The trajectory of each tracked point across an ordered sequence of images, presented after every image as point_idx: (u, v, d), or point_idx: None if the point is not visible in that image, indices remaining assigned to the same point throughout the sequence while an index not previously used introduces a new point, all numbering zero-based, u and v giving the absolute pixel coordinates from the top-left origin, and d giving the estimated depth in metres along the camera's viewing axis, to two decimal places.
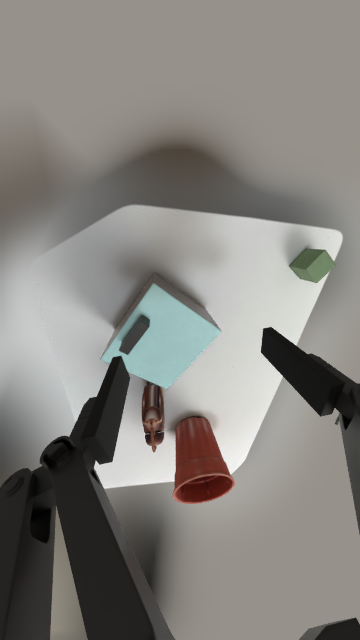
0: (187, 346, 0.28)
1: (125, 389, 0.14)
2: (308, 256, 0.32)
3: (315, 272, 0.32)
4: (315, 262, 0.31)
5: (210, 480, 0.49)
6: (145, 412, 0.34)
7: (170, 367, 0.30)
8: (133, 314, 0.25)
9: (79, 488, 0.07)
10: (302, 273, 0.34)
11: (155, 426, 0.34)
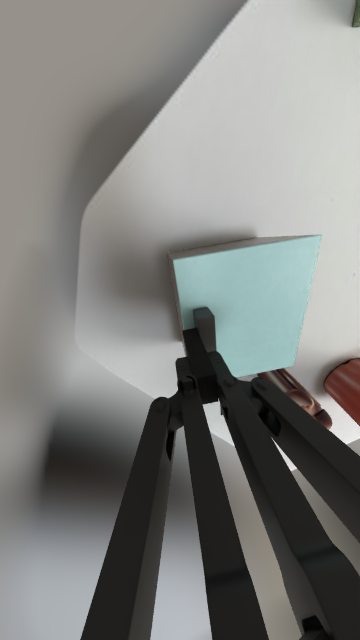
0: (282, 298, 0.17)
1: None
2: None
3: None
4: None
5: None
6: None
7: (278, 340, 0.20)
8: (184, 317, 0.17)
9: (197, 417, 0.08)
10: None
11: (312, 413, 0.24)
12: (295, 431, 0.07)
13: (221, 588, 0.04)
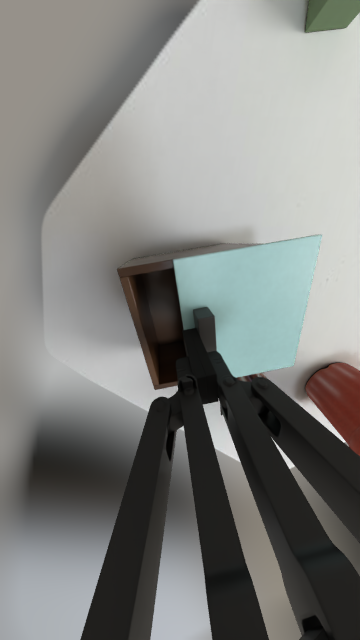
0: (282, 298, 0.17)
1: None
2: None
3: None
4: None
5: None
6: None
7: (278, 340, 0.20)
8: (184, 317, 0.17)
9: (197, 417, 0.08)
10: None
11: None
12: (295, 431, 0.07)
13: (221, 587, 0.04)
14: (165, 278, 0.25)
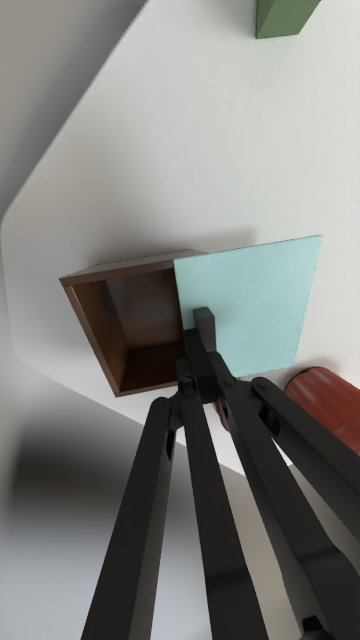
0: (282, 299, 0.17)
1: None
2: None
3: None
4: None
5: None
6: (220, 417, 0.25)
7: (278, 340, 0.20)
8: (184, 317, 0.17)
9: (197, 417, 0.08)
10: (292, 5, 0.14)
11: None
12: (295, 431, 0.07)
13: (221, 587, 0.04)
14: (131, 284, 0.24)
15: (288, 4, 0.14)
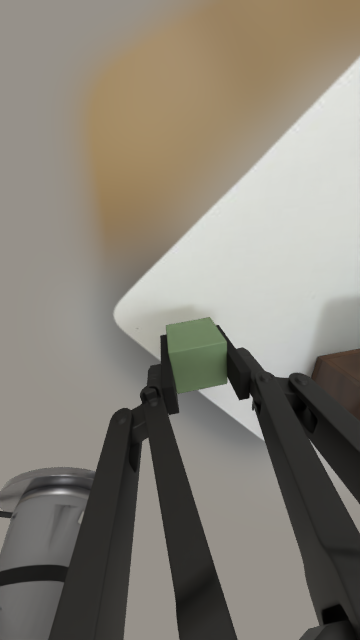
0: None
1: None
2: None
3: (216, 367, 0.13)
4: (204, 383, 0.14)
5: None
6: None
7: None
8: None
9: (163, 428, 0.08)
10: None
11: None
12: (333, 428, 0.07)
13: (191, 607, 0.04)
14: None
15: None
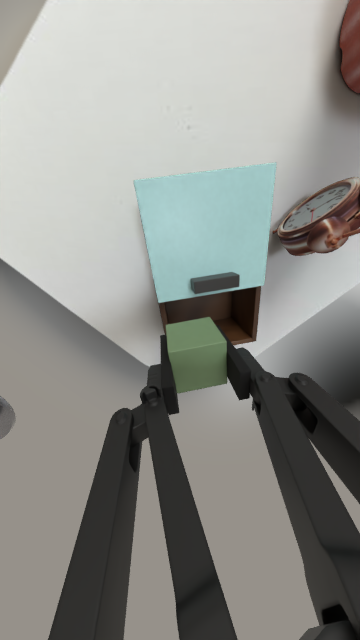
0: (189, 207, 0.19)
1: None
2: None
3: (215, 366, 0.13)
4: (204, 383, 0.14)
5: None
6: (319, 252, 0.23)
7: (233, 198, 0.19)
8: (196, 295, 0.24)
9: (163, 428, 0.08)
10: None
11: (340, 230, 0.20)
12: (333, 428, 0.07)
13: (191, 606, 0.04)
14: (179, 312, 0.35)
15: None
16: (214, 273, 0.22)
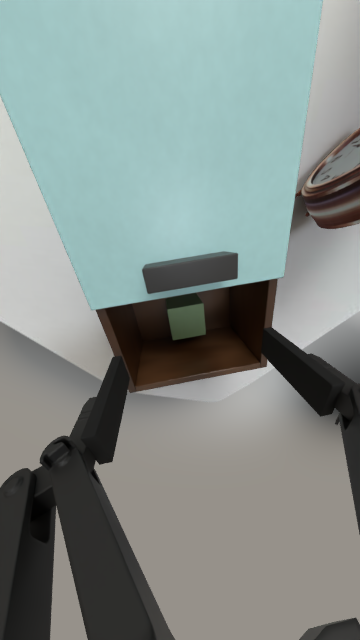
0: (120, 96, 0.08)
1: (125, 389, 0.14)
2: None
3: (197, 321, 0.20)
4: (190, 333, 0.21)
5: None
6: None
7: (223, 75, 0.08)
8: (161, 295, 0.13)
9: (79, 488, 0.07)
10: None
11: None
12: None
13: None
14: (154, 319, 0.25)
15: None
16: (190, 254, 0.12)
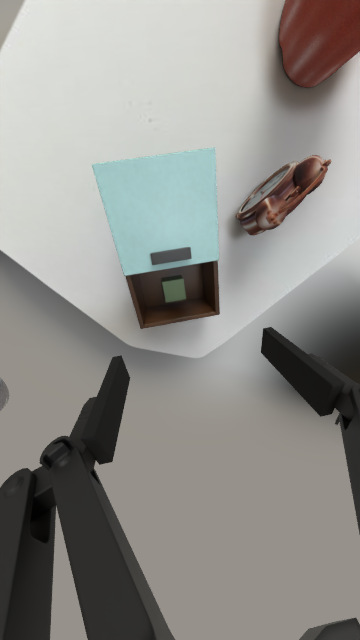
0: (142, 188, 0.22)
1: (125, 389, 0.14)
2: None
3: (180, 290, 0.34)
4: (176, 298, 0.35)
5: None
6: (265, 229, 0.26)
7: (181, 179, 0.22)
8: (158, 268, 0.27)
9: (79, 488, 0.07)
10: None
11: (277, 206, 0.23)
12: None
13: None
14: (154, 292, 0.38)
15: None
16: (172, 248, 0.26)
